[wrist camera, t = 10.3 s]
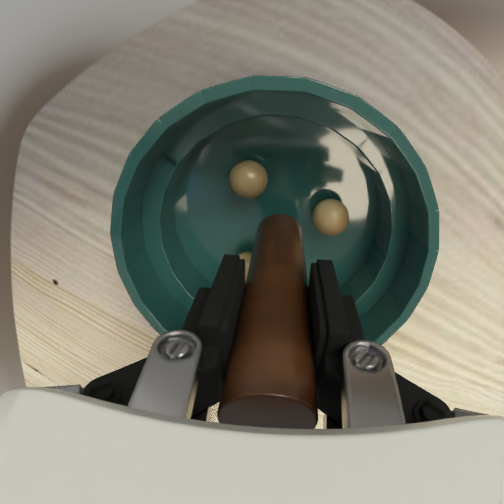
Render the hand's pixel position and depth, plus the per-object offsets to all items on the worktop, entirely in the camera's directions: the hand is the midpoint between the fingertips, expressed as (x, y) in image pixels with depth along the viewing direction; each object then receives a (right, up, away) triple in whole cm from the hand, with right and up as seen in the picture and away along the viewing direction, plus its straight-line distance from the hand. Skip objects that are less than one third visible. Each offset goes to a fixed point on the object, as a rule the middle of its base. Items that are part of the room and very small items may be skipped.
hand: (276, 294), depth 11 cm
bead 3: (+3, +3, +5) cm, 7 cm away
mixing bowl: (+1, +4, +7) cm, 8 cm away
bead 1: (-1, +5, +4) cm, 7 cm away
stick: (+1, +2, +5) cm, 6 cm away
